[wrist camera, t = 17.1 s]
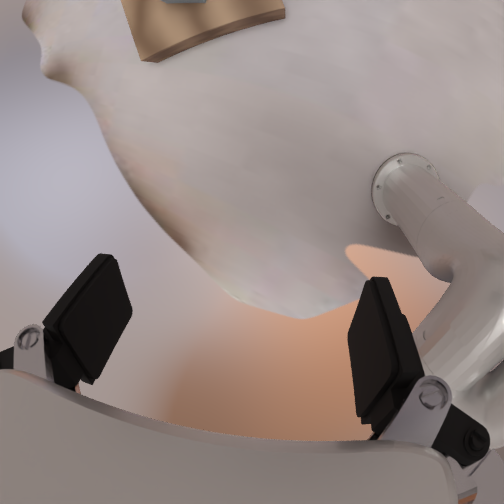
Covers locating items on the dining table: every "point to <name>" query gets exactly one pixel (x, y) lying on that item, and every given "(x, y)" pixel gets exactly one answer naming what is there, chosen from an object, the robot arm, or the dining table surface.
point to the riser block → (192, 22)
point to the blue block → (184, 1)
